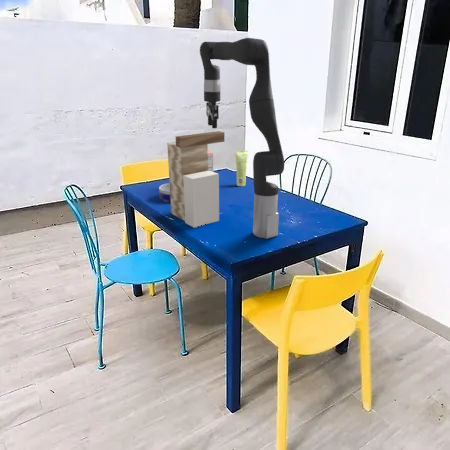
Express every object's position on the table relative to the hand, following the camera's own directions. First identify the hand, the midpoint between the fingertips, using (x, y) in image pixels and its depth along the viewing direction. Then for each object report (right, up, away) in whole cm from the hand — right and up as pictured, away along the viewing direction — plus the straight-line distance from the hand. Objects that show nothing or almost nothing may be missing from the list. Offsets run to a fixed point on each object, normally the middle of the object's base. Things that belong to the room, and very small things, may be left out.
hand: (212, 126), depth 183 cm
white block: (-4, -45, -14) cm, 47 cm away
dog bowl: (-20, -33, +17) cm, 42 cm away
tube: (+15, -24, +37) cm, 46 cm away
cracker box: (-6, -26, +31) cm, 41 cm away
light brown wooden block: (-4, -12, -18) cm, 22 cm away
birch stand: (-10, -41, -6) cm, 43 cm away
